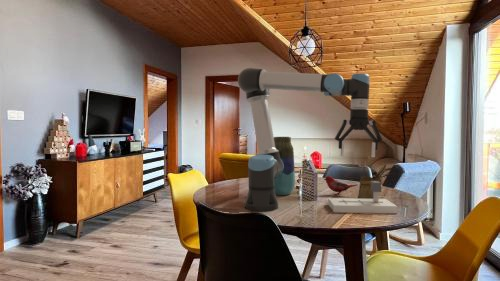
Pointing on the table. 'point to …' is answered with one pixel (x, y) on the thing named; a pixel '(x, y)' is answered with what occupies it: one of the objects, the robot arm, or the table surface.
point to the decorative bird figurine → (337, 185)
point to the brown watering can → (368, 185)
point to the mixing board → (361, 205)
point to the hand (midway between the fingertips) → (357, 156)
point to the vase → (285, 166)
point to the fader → (375, 189)
